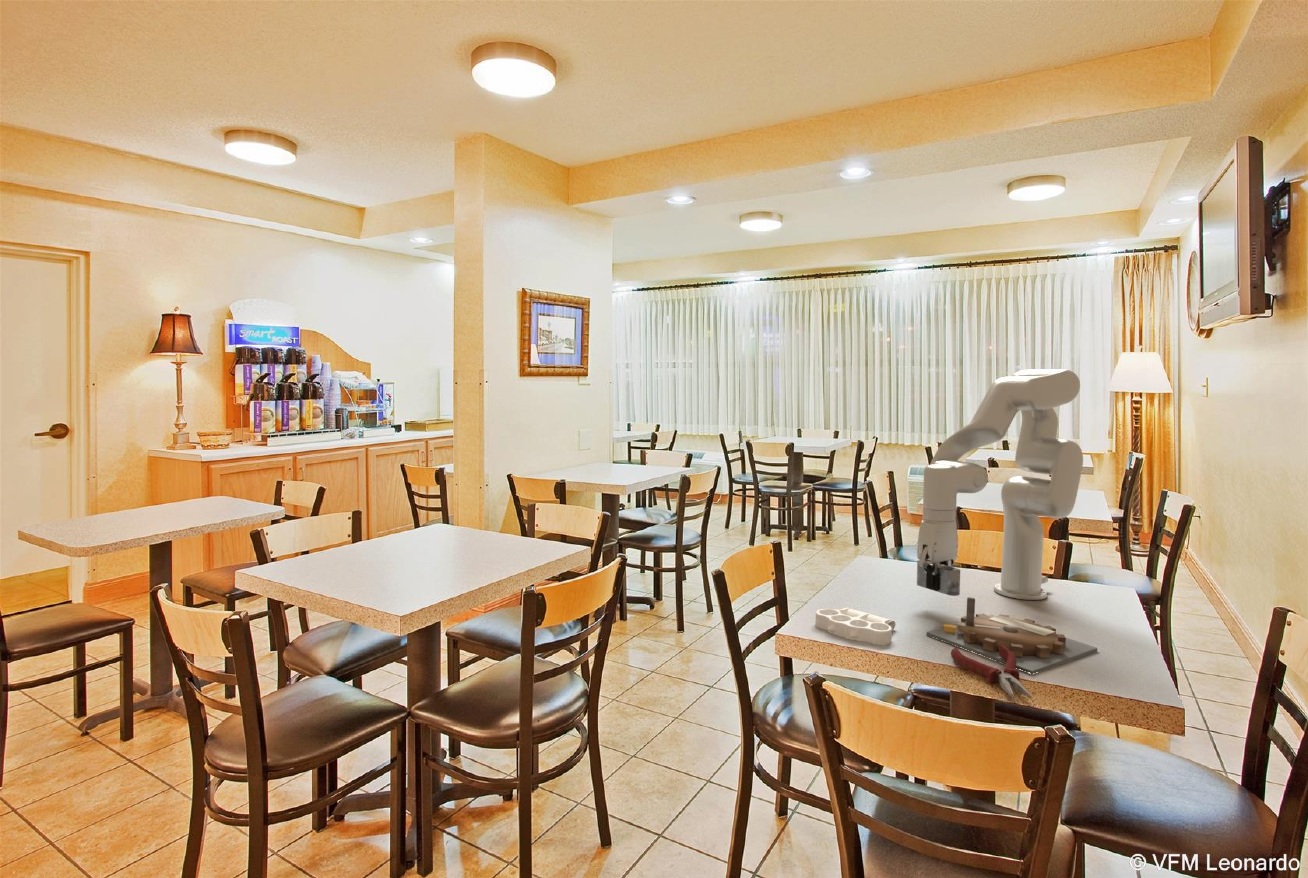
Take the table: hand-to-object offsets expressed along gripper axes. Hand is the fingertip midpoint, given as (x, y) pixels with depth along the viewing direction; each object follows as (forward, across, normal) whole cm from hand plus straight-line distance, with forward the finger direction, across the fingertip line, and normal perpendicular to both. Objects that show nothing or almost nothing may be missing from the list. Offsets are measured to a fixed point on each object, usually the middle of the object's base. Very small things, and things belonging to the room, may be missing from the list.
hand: (937, 587), depth 171 cm
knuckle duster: (+6, +28, 0) cm, 29 cm away
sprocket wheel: (+6, +5, +22) cm, 23 cm away
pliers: (+5, +26, +30) cm, 40 cm away
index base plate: (+6, +5, +22) cm, 23 cm away
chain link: (0, 0, 0) cm, 0 cm away
